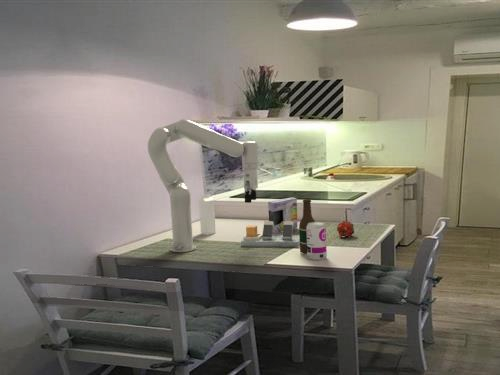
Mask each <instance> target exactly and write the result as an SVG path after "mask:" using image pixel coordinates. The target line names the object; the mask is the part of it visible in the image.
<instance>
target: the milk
mask: <svg viewBox="0 0 500 375" xmlns="http://www.w3.org/2000/svg"><path fill="white" fill-rule="evenodd" d="M198 206H199V222H200V224H199V225H200V234H201V235H205V236H209V235H214V234H216V213H215V199H213V197H212V196H211V194H210V193H208V194H203V195H201V198H200V199H199V200H198Z"/></svg>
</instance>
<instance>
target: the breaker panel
mask: <svg viewBox="0 0 500 375" xmlns="http://www.w3.org/2000/svg"><path fill="white" fill-rule="evenodd" d="M257 236H258V237H247V236H246V234H245V235H243V237H242V238H243V239H242V240H240V246H241V247H251V248H252V247H258V248H259V247H261V248H263V247H264V248H299V247H300V239H299V235H292V239H282V237H283V234H282V235H276V234H272V239H262V237H263V233H257ZM298 246H299V247H298Z"/></svg>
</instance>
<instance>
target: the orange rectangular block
mask: <svg viewBox="0 0 500 375" xmlns="http://www.w3.org/2000/svg"><path fill="white" fill-rule="evenodd" d="M245 231H246V232H245V233H246V234H245V235H246V236H247V237H258V236H257V234H258V225H247V226H246V227H245Z"/></svg>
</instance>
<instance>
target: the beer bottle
mask: <svg viewBox="0 0 500 375" xmlns="http://www.w3.org/2000/svg"><path fill="white" fill-rule="evenodd" d="M311 200H312V199H311V198H310V199H308V198H305V199H303V200H302V203H303V205H302V206H303V208H302V217H301V219H300V221H299V224H298V225H299V226H298V232H299V234H298V236H299V239H300V245H299V251H300V253H302V254H306V255H307V229H306V227H307V225H308V223H311V222H316V220H315V219H314V217H313V215H312V214H313V213H312V206H311V202H312V201H311Z"/></svg>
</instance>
